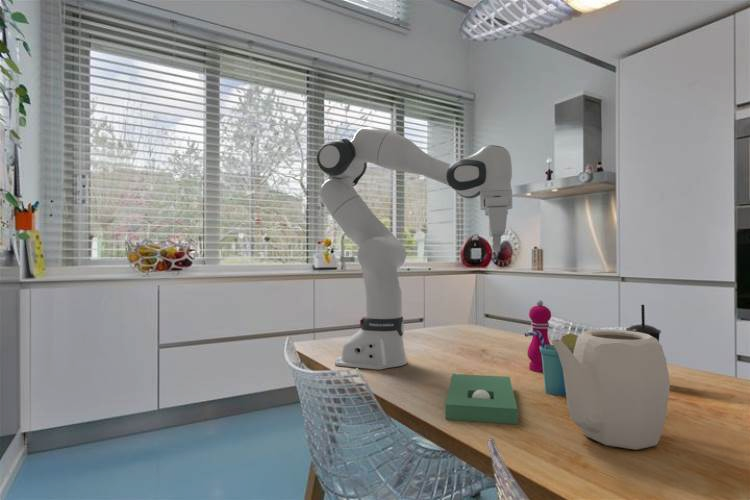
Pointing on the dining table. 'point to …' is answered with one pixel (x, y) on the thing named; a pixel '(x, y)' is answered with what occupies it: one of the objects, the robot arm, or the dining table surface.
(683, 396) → the dining table surface
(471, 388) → the putting mat
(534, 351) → the pepper mill
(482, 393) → the ball
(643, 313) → the drinking cup
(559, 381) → the cup
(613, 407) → the watering can
